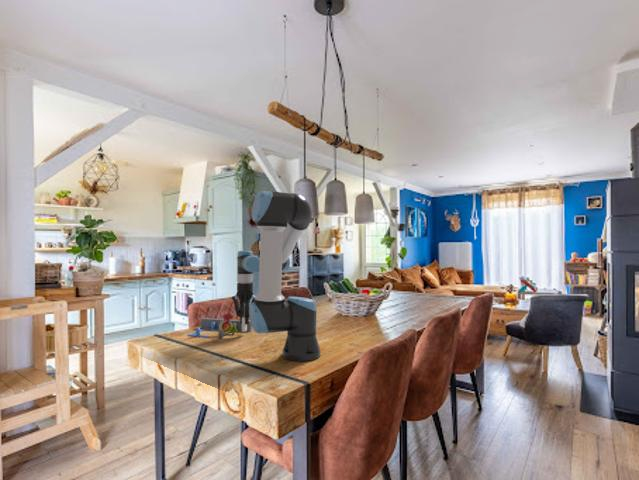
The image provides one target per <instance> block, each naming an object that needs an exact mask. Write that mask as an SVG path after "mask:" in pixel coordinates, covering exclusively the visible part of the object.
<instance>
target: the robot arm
mask: <svg viewBox="0 0 639 480" xmlns="http://www.w3.org/2000/svg"><path fill="white" fill-rule="evenodd" d="M312 215H313V211H312V208H311V205H310V203H309V202H308V200H307V199H306V198H305V197H304V196H303V195H301V194H298V193H294V192H293V193H290V192H283V191H282V192H280V191H272V190H270V191H264V190H263V191H259V192H258V193H257V194H256V195H255V197H254V199H253V202H252V209H251V218H252V221H253V222H254V223H256V228H257V229H259V231H260V234H259V235H260V236H259V237H260V240H259V255H257V254H256V255H254V251H252V250H238V252H237V256H236V257H237V258H236V259H237V268H236V269H237V276H236V282H237V283H236V294H235V295H233V296H232V297H231V299H232V301H233V304H234V310H235V314H236V317H239V319H240V324H242V331H241V332H244V333H245V332H248V331H247V324H248V323H249V321H251V325H252V330H253V331H254V332H255V333H256V334H265V335H267V334H272V333H273V334H274V333H280V332H287V333H286V334H287V336H286V339H285V343H284V345H283V347H282V357H283V358H285V359H286V360H289V361H293V362H294V361H295V362H308V361H313V360H317V359H319V358H320V357H321V348H320V345H319V342H318V339H317V312H318V310H317V309H318V308H317V302H316V301H315V300H314V299H311V298H307V297H300V296H288V297H287V298H288V299H287V300H288V301H285V298H286V296H284V295H283V294H282V278H283V277H282V276H283V275H282V274H283V272H284V271H288V270H289V269H290V265H291V260H290V256H291V254H292V252H293V250H294V249H295V246H296V244H297V243H298V241H299V239H300V237H301V235H302V233H303V231H305V230H307V229H308V228H309V226H310V224H311V221H312ZM256 272H258V273H259V276H258V293H257V294H256V295H254V291H253V290H254V287H253V286H254V283H253V282H254V273H256ZM250 301H251V302H250Z"/></svg>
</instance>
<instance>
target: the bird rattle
mask: <svg viewBox="0 0 639 480" xmlns="http://www.w3.org/2000/svg"><path fill="white" fill-rule="evenodd" d="M222 317H223V318H224V320H222V321H221V322H220V324H219V329H223V337H225V336H227V335H228V334H230V333H231V334H232V335H234V334H236V333H237V332H239V331H238V330H237V329H236V327H235V325H232V323H231V321H230V320H233V318H234V315H232V313H231V312H228V313H224V314H223V315H222ZM226 323H227V324H226ZM228 325H229V326H228Z"/></svg>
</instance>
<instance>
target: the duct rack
mask: <svg viewBox="0 0 639 480" xmlns="http://www.w3.org/2000/svg"><path fill="white" fill-rule="evenodd" d="M222 320H224V319H223V318H210V317H209V318H208V317H202V318H200V327H196V328H195V331H194V332H191V333H189V334H187V337H196V338H209V337H210V336H209V335H205V334H204V335H202V334H201V332H202V331H216V332H217V331H218V334H217V335H218V337H217V339H219V340H222V339H224V336H223V329H219V324H220V322H221V321H222ZM230 321H231V323H232V325H235V327H236V329H237V330H238V331H237V332H243V331H242V324H240V320H239V319H230ZM226 324H227V323H226ZM228 326H229V325H228ZM252 330H253V328H252V325H251V321H250V320H249V323H248V324H247V331H246V332H249V333H250V332H252Z"/></svg>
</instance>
